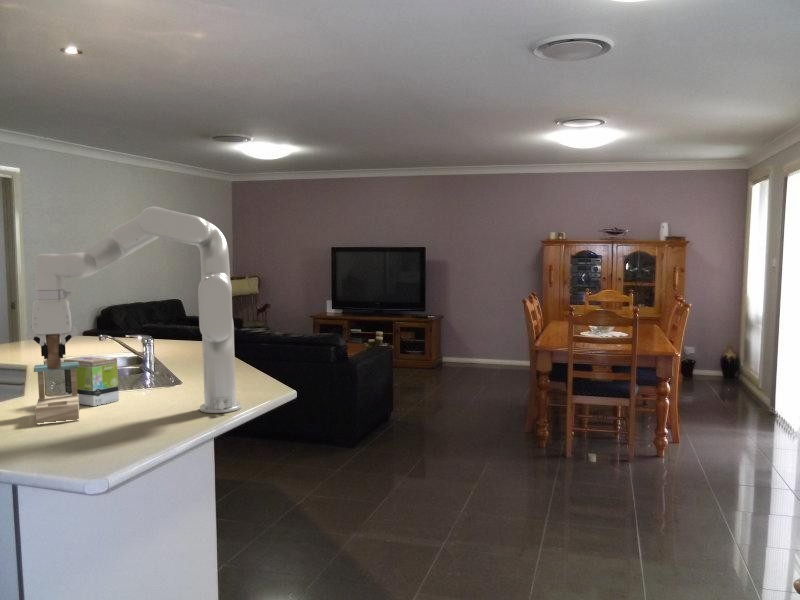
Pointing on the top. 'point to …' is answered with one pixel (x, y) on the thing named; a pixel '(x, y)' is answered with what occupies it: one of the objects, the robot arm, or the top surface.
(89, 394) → the tea box
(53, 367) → the peg
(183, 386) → the top surface
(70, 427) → the top surface
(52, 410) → the socket block
